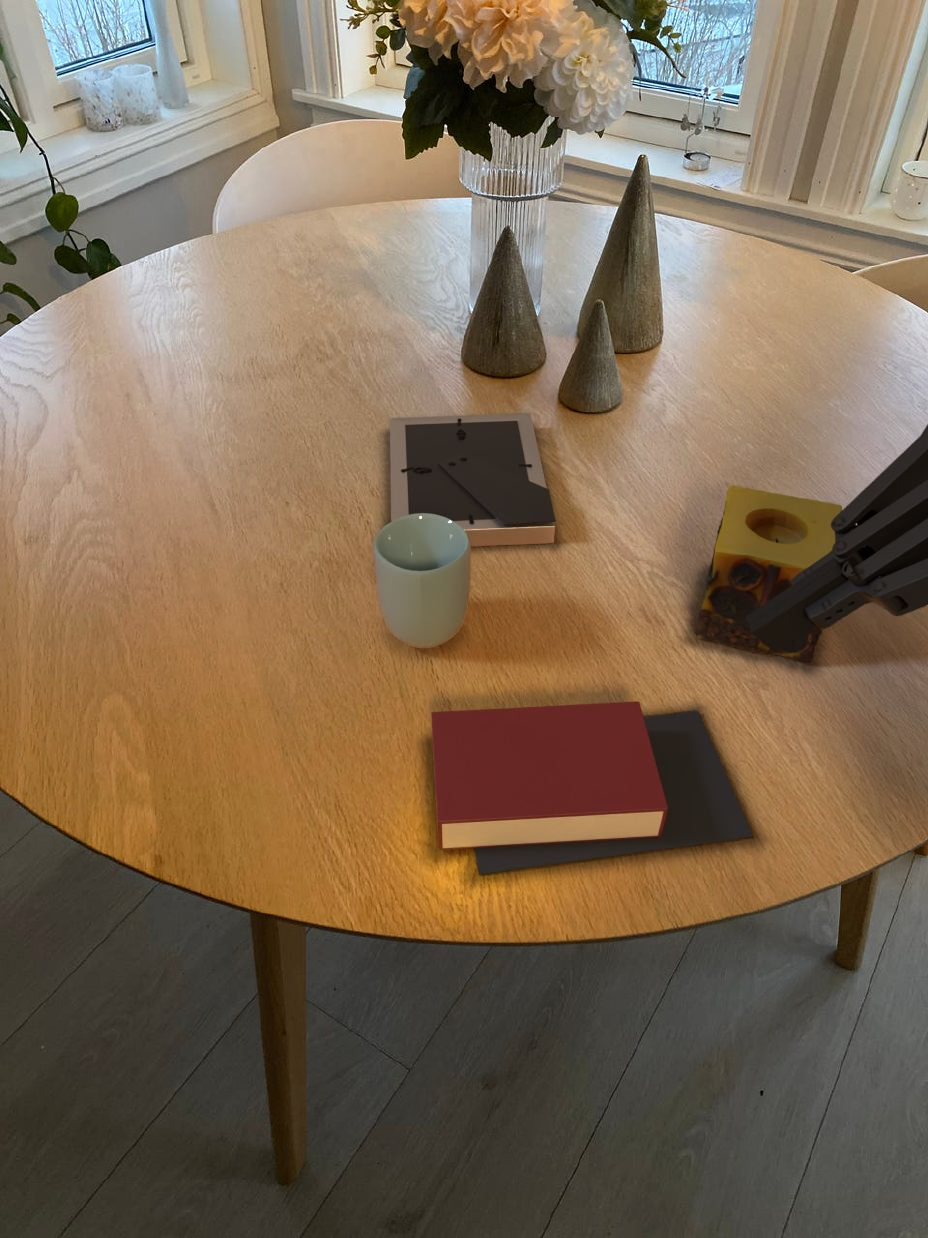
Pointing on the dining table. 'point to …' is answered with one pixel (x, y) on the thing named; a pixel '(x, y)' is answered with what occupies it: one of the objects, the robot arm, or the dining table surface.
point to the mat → (691, 794)
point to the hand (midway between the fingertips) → (760, 634)
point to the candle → (762, 564)
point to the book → (545, 776)
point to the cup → (423, 578)
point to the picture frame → (473, 476)
